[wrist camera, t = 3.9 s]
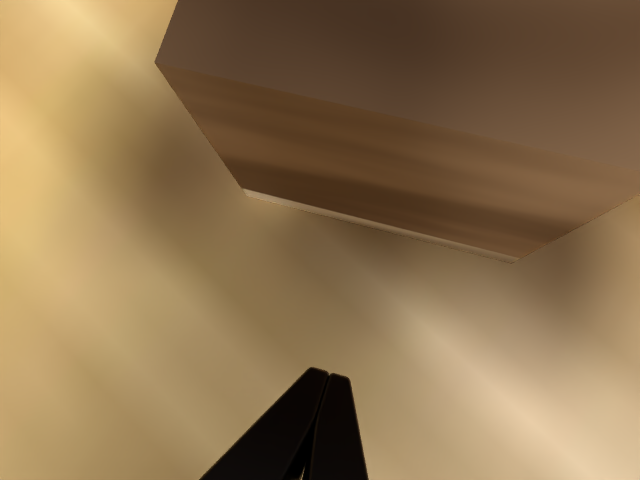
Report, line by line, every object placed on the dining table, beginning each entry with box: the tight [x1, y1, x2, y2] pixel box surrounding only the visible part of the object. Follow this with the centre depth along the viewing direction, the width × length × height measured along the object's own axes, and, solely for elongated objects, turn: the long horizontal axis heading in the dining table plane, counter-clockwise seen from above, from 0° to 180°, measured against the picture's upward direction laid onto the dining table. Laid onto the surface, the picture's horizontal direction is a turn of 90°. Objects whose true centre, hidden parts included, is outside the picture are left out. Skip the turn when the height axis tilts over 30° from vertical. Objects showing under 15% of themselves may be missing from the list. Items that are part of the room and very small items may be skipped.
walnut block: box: [155, 0, 640, 263], centre depth 14 cm, size 4×10×9 cm, turn 74°
